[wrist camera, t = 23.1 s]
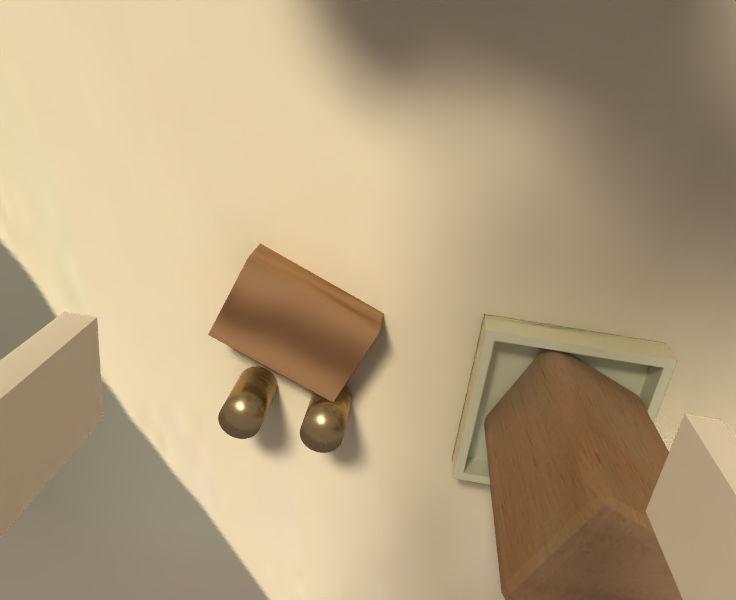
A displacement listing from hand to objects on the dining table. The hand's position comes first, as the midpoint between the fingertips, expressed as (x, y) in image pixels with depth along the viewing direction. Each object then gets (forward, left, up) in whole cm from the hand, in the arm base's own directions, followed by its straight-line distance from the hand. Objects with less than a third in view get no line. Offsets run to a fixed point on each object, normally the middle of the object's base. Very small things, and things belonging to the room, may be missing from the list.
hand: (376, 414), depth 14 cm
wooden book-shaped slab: (+16, -8, -37) cm, 41 cm away
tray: (+21, +15, -37) cm, 45 cm away
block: (+21, +16, -36) cm, 45 cm away
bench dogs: (+24, -8, -37) cm, 45 cm away
